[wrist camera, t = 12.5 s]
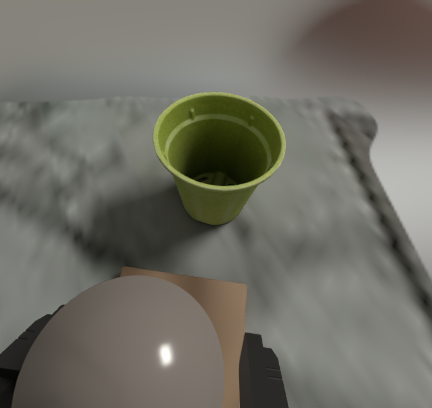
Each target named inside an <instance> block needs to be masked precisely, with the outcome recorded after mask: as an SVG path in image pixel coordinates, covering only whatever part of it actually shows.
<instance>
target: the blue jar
mask: <svg viewBox="0 0 432 408" xmlns="http://www.w3.org/2000/svg"><path fill="white" fill-rule="evenodd" d="M224 379H225V375H224V361H223V356H222V350H221V346H220V342H219V339H218V336H217V333H216V331H215V328H214V326H213V324H212V322H211V320H210V318H209V317H208V315H207V313H206V312H205V311H204V309H203V308H202V307H201V305H200V304H199V303H198V302H197V301H196V300H195V299H194V298H193V297H192V296H191V295H190V294H189V293H187V292H186V291H185V290H183V289H182V288H180V287H178V286H177V285H175V284H173V283H171V282H168V281H166V280H163V279H160V278H155V277H151V276H140V275H138V276H124V277H118V278H114V279H111V280H107V281H104V282H102V283H99V284H97V285H95V286H93V287H91V288H89V289H87V290H85V291H84V292H82V293H80V294H79V295H78V296H76V297H75V298H73V299H72V300H70V301H69V302H68V303H67V304H66V305H65V306H64V307H62V308H61V309H60V310H59V311H58V312H57V313H56V314H55V315H54V316H53V317H52V318H51V320H50V321H49V322H48V323H47V324H46V326H45V327H44V328H43V330H42V331H41V332H40V334H39V335H38V337H37V338H36V340H35V342H34V343H33V345H32V346H31V348H30V350H29V352H28V354H27V356H26V358H25V360H24V363H23V365H22V368H21V370H20V373H19V376H18V379H17V382H16V386H15V390H14V394H13V400H12V406H11V408H222V402H223V395H224Z"/></svg>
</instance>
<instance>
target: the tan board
mask: <svg viewBox="0 0 432 408" xmlns="http://www.w3.org/2000/svg"><path fill="white" fill-rule="evenodd" d="M138 275H140V276H151V277H155V278H160V279H163V280H166V281H168V282H171V283H173V284H175V285H177V286H178V287H180V288H182V289H183V290H185V291H186V292H187V293H189V294H190V295H191V296H192V297H193V298H194V299H195V300H196V301H197V302H198V303H199V304H200V305H201V307H202V308H203V309H204V311H205V312H206V313H207V315H208V317H209V318H210V320H211V322H212V324H213V326H214V328H215V331H216V333H217V336H218V339H219V342H220V346H221V350H222V356H223V361H224V375H225V379H224V395H223V402H222V408H239V400H240V394H239V360H240V355H241V349H242V344H243V339H244V327H245V312H246V297H247V284H240V283H233V282H227V281H220V280H213V279H206V278H200V277H193V276H186V275H179V274H173V273H166V272H159V271H152V270H145V269H139V268H132V267H125V266H123V268H122V271H121V274H120V277H124V276H138Z"/></svg>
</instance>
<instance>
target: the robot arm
mask: <svg viewBox="0 0 432 408" xmlns="http://www.w3.org/2000/svg"><path fill="white" fill-rule="evenodd" d="M64 306H65V305H61V306H60V307H59V308H58V309H57V310H56V311H55V312H54V313H53V314H52V315H50V314H47V315H45V316H44V317H42V318H40V319H38V320H36V321H35V322H34V323H33V324H32V325H31V326H30V327H29V328H28V329H26V331H25V332H23V333H22V334H21V335H20V336H19V337H18V339H16V340H15V341H14V342H13V343H12V344H11V345H10V346H8V347H7V348H6V349H5V350H4V351H3V352H2V353H1V354H0V408H11V406H12V400H13V394H14V390H15V386H16V382H17V379H18V376H19V373H20V370H21V368H22V365H23V363H24V360H25V358H26V356H27V354H28V352H29V350H30V348H31V346H32V345H33V343H34V342H35V340H36V338H37V337H38V335H39V334H40V332H41V331H42V330H43V328H44V327H45V326H46V324H47V323H48V322H49V321H50V320H51V318H52V317H53V316H54V315H55V314H56V313H57V312H58V311H59V310H60V309H61V308H62V307H64ZM239 394H240V408H289V407H288V403H287V398H286V393H285V389H284V384H283V380H282V375H281V371H280V366H279V362H278V358H277V356H276V355H275V353H274V352H273V350H272V349H271V348H264V347H263V344H262V338H261V335H259V334H252V333H246V332H245V334H244V339H243V344H242V349H241V355H240V360H239Z"/></svg>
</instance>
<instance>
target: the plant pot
mask: <svg viewBox="0 0 432 408" xmlns="http://www.w3.org/2000/svg"><path fill="white" fill-rule="evenodd" d="M153 144H154V148H155V151H156V154H157V156H158V158H159V160H160V162H161V163H162V164H163V166H164V167H165V168H166V169H167V170H168V171H169V172H170V173H171V174H172V175H173V177H174V180H175V183H176V185H177V188H178V191H179V194H180V197H181V199H182V202H183V205H184V208H185V210H186V211H187V213H188V214H189V215H190V216H191V217H192V218H194V219H195V220H197V221H200V222H204V223H207V224H211V225H220V224H224V223H227V222H229V221H231V220H233V219H234V218H235V217H236V216H237V215H238V214H239V213H240V212H241V210H242V209H243V207H244V205H245V204H246V202H247V201H248V199H249V198H250V196H251V195H252V193H253V192H254V190H255V189H256V187H257V186H258V185H259V184H260V183H262V182H264V181H265V180H267V179H268V178H269V177H271V176H272V175H273V174H274V173H275V172H276V170H277V169H278V167H279V166H280V164H281V162H282V160H283V158H284V155H285V150H286V140H285V136H284V132H283V130H282V128H281V126H280V124H279V123H278V121H277V120H276V119H275V118H274V117H273V116H272V115H271V114H270V113H269V112H268V111H267V110H266V109H265V108H263V107H262V106H260V105H259V104H257V103H255V102H253V101H251V100H249V99H247V98H244V97H241V96H237V95H234V94H229V93H221V92H208V93H198V94H194V95H190V96H187V97H184V98H182V99H180V100H178V101H176V102H175V103H173V104H172V105H170V106H169V107H168V108H167V109H165V110H164V112H163V113H162V114H161V115H160V117H159V118H158V120H157V122H156V124H155V127H154V131H153ZM204 177H205V178H208V179H207V180H204V181H201V182H197V180H199V179H201V178H204ZM229 184H232V185H233V186H229Z"/></svg>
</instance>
